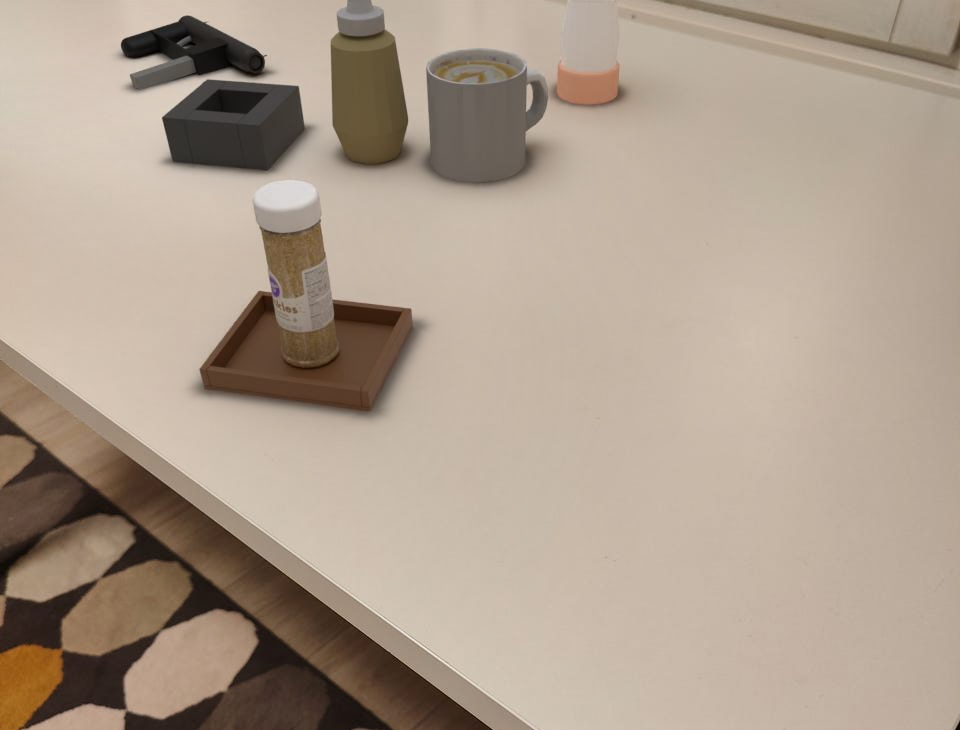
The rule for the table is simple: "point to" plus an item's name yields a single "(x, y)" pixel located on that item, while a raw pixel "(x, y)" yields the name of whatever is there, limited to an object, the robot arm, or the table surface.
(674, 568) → the table surface
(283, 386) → the tray
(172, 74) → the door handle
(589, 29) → the pepper shaker
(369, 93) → the squeeze bottle
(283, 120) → the socket base
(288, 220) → the sprinkles bottle
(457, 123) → the coffee mug
